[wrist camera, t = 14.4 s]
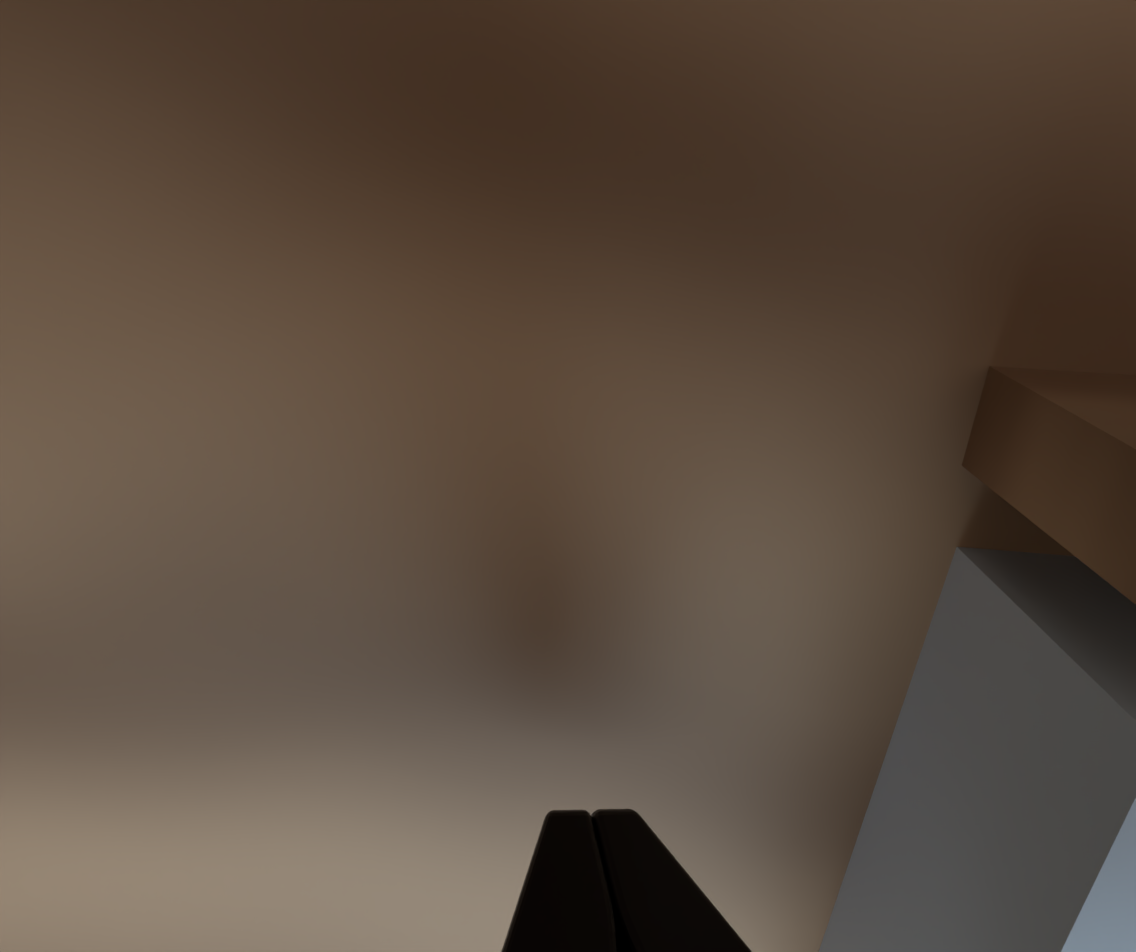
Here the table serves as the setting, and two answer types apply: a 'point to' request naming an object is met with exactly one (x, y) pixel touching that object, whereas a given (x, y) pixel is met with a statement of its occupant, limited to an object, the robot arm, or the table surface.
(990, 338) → the board
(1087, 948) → the blue-grey rectangular block
